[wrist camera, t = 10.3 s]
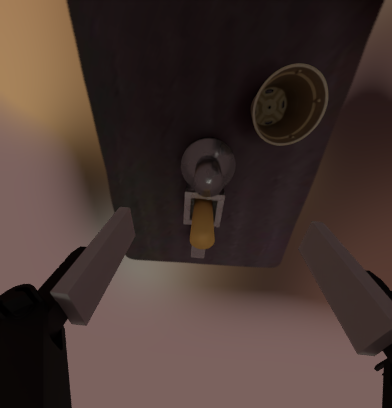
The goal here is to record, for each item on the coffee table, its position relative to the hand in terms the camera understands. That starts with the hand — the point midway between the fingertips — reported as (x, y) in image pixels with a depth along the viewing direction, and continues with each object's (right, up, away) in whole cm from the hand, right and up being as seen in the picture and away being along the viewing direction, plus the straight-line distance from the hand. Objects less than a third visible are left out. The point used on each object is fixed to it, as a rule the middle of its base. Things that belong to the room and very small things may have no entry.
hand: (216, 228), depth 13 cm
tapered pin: (0, +4, +24) cm, 25 cm away
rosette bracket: (0, +5, +26) cm, 26 cm away
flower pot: (+11, +19, +17) cm, 28 cm away
